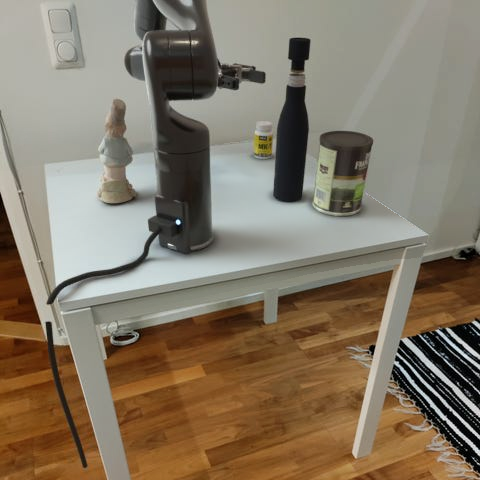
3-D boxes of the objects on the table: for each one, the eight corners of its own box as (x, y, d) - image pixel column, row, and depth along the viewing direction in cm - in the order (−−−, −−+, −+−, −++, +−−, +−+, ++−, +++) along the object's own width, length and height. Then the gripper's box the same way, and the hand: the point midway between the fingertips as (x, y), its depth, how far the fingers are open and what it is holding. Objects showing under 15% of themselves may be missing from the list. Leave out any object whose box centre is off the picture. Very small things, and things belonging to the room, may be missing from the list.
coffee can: (368, 203, 101) (381, 136, 92) (349, 221, 94) (361, 149, 85) (324, 192, 105) (333, 127, 97) (303, 208, 98) (310, 139, 90)
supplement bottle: (256, 160, 121) (257, 126, 116) (251, 154, 125) (252, 121, 120) (274, 158, 123) (276, 125, 117) (268, 152, 126) (270, 120, 121)
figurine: (140, 203, 99) (127, 102, 87) (99, 207, 98) (80, 104, 85) (136, 187, 106) (124, 91, 94) (98, 190, 104) (81, 93, 92)
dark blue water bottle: (308, 198, 103) (325, 39, 84) (285, 204, 100) (297, 42, 81) (289, 188, 107) (302, 35, 88) (267, 194, 104) (275, 37, 86)
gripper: (170, 54, 97) (228, 65, 89) (216, 47, 106) (273, 56, 98) (172, 93, 102) (228, 107, 94) (217, 83, 111) (271, 95, 102)
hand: (251, 81), depth 96 cm, fingers open, 8 cm apart
